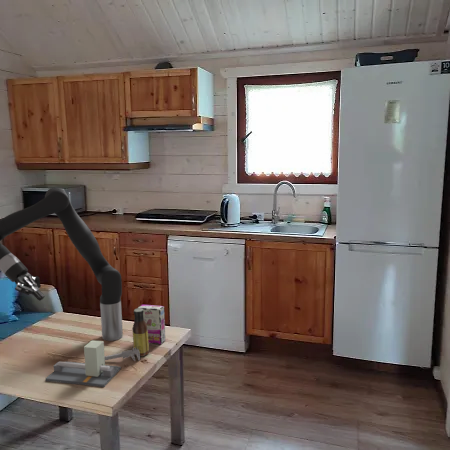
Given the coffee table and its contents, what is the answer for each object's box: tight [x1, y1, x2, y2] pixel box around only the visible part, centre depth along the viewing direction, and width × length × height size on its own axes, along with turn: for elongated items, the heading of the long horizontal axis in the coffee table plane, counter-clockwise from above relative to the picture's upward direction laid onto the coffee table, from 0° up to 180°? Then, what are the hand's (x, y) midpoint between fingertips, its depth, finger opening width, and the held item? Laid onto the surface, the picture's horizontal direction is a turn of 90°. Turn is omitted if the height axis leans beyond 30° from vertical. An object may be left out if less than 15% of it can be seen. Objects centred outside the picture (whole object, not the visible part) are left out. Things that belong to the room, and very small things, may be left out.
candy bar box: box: [137, 304, 166, 345], centre depth 202 cm, size 11×5×16 cm, turn 74°
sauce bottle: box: [131, 307, 150, 357], centre depth 189 cm, size 6×6×20 cm
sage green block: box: [83, 340, 106, 377], centre depth 171 cm, size 6×5×12 cm
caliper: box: [105, 346, 141, 362], centre depth 184 cm, size 20×1×6 cm, turn 93°
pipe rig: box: [45, 361, 122, 388], centre depth 173 cm, size 14×24×4 cm, turn 78°
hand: (42, 298), depth 178 cm, fingers closed
